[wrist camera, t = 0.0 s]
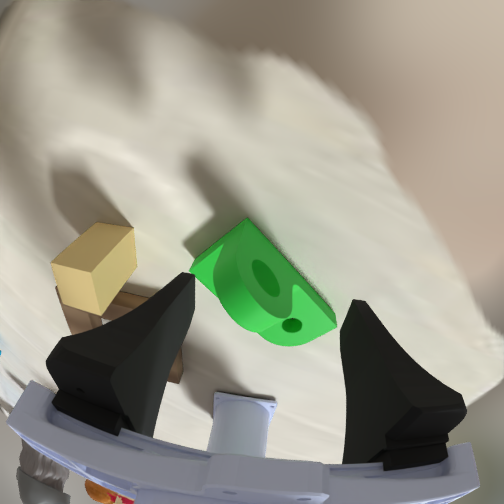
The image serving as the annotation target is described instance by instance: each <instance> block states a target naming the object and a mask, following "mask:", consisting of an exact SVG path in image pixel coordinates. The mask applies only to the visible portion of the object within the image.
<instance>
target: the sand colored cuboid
mask: <svg viewBox="0 0 504 504" xmlns="http://www.w3.org/2000/svg"><path fill="white" fill-rule="evenodd" d="M51 266H52V270H53V273H54V277H55V280H56V284H57V287H58V290H59V293H60V297H61V300H62V303H63V304H65V305H68V306H71V307H74V308H77V309H81V310H84V311H87V312H90V313H94V314H97V315H100V316H102V314H103V313H104V311H105V310H106V309H107V307H108V306H109V304H110V303H111V302H112V300H113V299H114V297H115V296H116V295H117V293H118V292H119V291H120V289H121V288H122V286H123V285H124V284H125V282H126V281H127V280H128V278H129V277H130V276H131V274H132V273H133V272H134V270H135V269H136V268H137V259H136V249H135V238H134V228H132V227H125V226H119V225H112V224H105V223H99V222H96V223H95V224H94V225H93V226H91V227H90V228H89V229H88V230H87V231H85V232H84V233H83V234H82V235H81V236H80V237H78V238H77V239H76V240H75V241H74V242H73V243H72V244H70V245H69V246H68V247H67V248H66V249H65V250H64V251H63V252H61V253H60V254H59V255H58V256H57V257H56V258H55V259H54V260H53V261H52V262H51Z"/></svg>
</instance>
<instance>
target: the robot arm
mask: <svg viewBox="0 0 504 504" xmlns="http://www.w3.org/2000/svg"><path fill="white" fill-rule="evenodd" d="M194 310H195V274H190V273H184V272H182V273H180V274H179V275H178V276H177V277H175V278H174V279H173V280H172V281H171V282H170V283H168V284H167V285H166V286H165V287H163V288H162V289H161V290H160V291H158V292H157V293H156V294H155V295H153V296H152V297H151V298H149V299H148V300H146V301H145V302H144V303H142V304H141V305H139V306H138V307H136V308H135V309H133V310H132V311H130V312H128V313H126V314H125V315H123V316H121V317H119V318H117V319H115V320H113V321H110V322H108V323H106V324H104V325H102V326H99V327H96V328H94V329H91V330H88V331H85V332H82V333H78V334H74V335H70V336H66V337H62V338H61V339H60V341H59V342H58V343H57V345H56V346H55V348H54V349H53V350H52V352H51V353H50V355H49V356H48V358H47V360H46V366H47V369H48V371H49V373H50V375H51V376H52V378H53V380H54V381H55V383H56V385H57V386H58V388H59V390H58V392H57V394H55V393H54V392H53V391H51V390H50V389H48V388H46V387H44V386H42V385H40V384H38V383H37V382H35V381H33V380H31V381H30V382H29V384H28V385H27V387H26V389H25V390H24V392H23V393H22V395H21V397H20V398H19V400H18V402H17V403H16V405H15V407H14V408H13V410H12V412H11V414H10V415H9V417H8V419H7V421H6V423H7V424H8V425H9V426H10V427H11V428H12V429H13V430H14V431H15V432H16V433H17V434H18V435H19V436H20V437H21V438H22V439H23V440H24V441H25V442H27V443H28V444H29V445H30V446H31V447H32V448H34V449H35V450H37V451H38V452H40V453H42V454H43V455H45V456H47V457H48V458H50V459H52V460H53V461H55V462H57V463H59V464H60V465H62V466H64V467H66V468H68V469H69V470H71V471H73V472H75V473H77V474H79V475H81V476H83V477H85V478H87V479H89V480H91V481H93V482H95V483H97V484H99V485H101V486H103V487H105V488H108V489H110V490H112V491H114V492H117V493H119V494H122V495H124V496H127V497H129V498H132V499H134V500H135V501H134V504H448V503H450V502H452V501H454V500H456V499H458V498H460V497H462V496H464V495H466V494H468V493H470V492H471V491H473V490H475V489H477V488H479V486H480V483H479V477H478V472H477V467H476V463H475V458H474V454H473V450H472V446H471V443H470V442H467V443H462V444H457V445H453V446H450V447H448V448H446V442H448V441H449V438H448V433H449V432H450V431H451V430H452V429H454V427H456V426H457V425H458V424H459V423H460V422H461V421H462V420H463V419H464V417H465V416H466V414H467V409H466V406H465V403H464V400H463V397H462V394H460V393H458V392H456V391H455V390H453V389H451V388H450V387H448V386H446V385H445V384H443V383H442V382H440V381H439V380H437V379H436V378H435V377H433V376H432V375H431V374H429V373H428V372H427V371H426V370H425V369H423V368H422V367H421V366H420V365H419V364H418V363H417V362H415V361H414V360H413V359H412V358H411V357H410V356H409V355H408V354H407V353H406V352H405V351H404V349H403V348H402V347H401V346H400V345H399V344H398V343H397V341H396V340H395V339H394V338H393V337H392V335H391V334H390V333H389V332H388V330H387V329H386V328H385V327H384V325H383V324H382V323H381V321H380V320H379V319H378V317H377V316H376V314H375V313H374V312H373V310H372V309H371V308H370V306H369V305H368V304H367V303H366V301H362V300H355V299H353V300H352V303H351V305H350V308H349V310H348V313H347V315H346V318H345V320H344V322H343V325H342V327H341V330H340V352H341V359H342V366H343V373H344V380H345V388H346V433H345V445H344V453H343V461H342V464H323V463H321V462H313V461H302V460H286V459H275V458H265V455H266V446H267V437H268V427H269V425H270V422H271V420H272V417H273V414H274V412H275V409H276V407H277V402H276V401H271V400H264V399H257V398H250V397H244V396H237V395H232V394H226V393H221V392H215V393H214V408H213V425H212V430H211V434H210V438H209V443H208V447H207V451H202V450H198V449H193V448H189V447H185V446H181V445H177V444H173V443H169V442H165V441H162V440H158V439H155V438H153V434H154V429H155V425H156V420H157V416H158V412H159V408H160V404H161V401H162V397H163V393H164V390H165V386H166V383H167V380H168V377H169V373H170V370H171V368H172V365H173V363H174V360H175V358H176V356H177V354H178V352H179V349H180V347H181V345H182V343H183V340H184V338H185V336H186V334H187V331H188V329H189V327H190V324H191V320H192V317H193V314H194Z"/></svg>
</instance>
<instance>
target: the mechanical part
mask: <svg viewBox="0 0 504 504" xmlns="http://www.w3.org/2000/svg"><path fill="white" fill-rule="evenodd" d="M189 271H190V272H191V273H192V274H195V277H196V278H197V279H198V280H199V281H200V282H201V283H202V284H203V285H204V286H206V287H207V288H208V289H209V290H210V291H211V292H212V293H213V294H214V295H215V296H216V297H218V298H219V300H220V302H221V304H222V306H223V307H224V309H225V310H226V312H227V313H228V314H229V315H230V317H231V318H232V319H233V320H234V321H235V322H236V323H237V324H239V325H240V326H241V327H243V328H244V329H246V330H249V331H252V332H257V333H258V334H259V335H260V336H262V337H263V338H264V339H266V340H267V341H269V342H271V343H273V344H276V345H281V346H298V345H302V344H305V343H308V342H310V341H312V340H314V339H316V338H317V337H319V336H321V335H323V334H325V333H327V332H329V331H331V330H333V329H335V328H336V327H337V322H336V316H335V313H334V312H333V311H332V309H331V308H330V307H329V306H328V305H327V304H326V303H325V302H324V301H323V299H322V298H321V297H320V296H319V295H318V294H317V293H316V292H315V291H314V289H313V288H312V287H311V286H310V285H309V284H308V283H307V282H306V281H305V280H304V278H303V277H302V276H301V275H300V274H299V273H298V272H297V271H296V270H295V269H294V267H293V266H292V265H291V264H290V263H289V262H288V261H287V260H286V259H285V258H284V257H283V255H282V254H281V253H280V252H279V251H278V250H277V249H276V248H275V247H274V246H273V245H272V243H271V242H270V241H269V240H268V239H267V238H266V237H265V236H264V235H263V234H262V233H261V232H260V231H259V229H258V228H257V227H256V226H255V225H254V224H253V223H252V222H251V221H250V220H249V219H248V218H246V219H245V220H243V221H242V222H241V223H240V224H238V225H237V226H236V227H235V228H233V229H232V230H231V231H230V232H228V233H227V234H226V235H224V236H223V237H222V238H221V239H219V240H218V241H217V242H216V243H214V244H213V245H212V246H211V247H209V248H208V249H207V250H206V251H204V252H203V253H202V254H201V255H200V256H198V257H197V258H196V259H195V260H194V262H193V264H192V266H191V268H190V270H189ZM289 318H296V319H289Z"/></svg>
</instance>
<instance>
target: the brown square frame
mask: <svg viewBox="0 0 504 504" xmlns="http://www.w3.org/2000/svg"><path fill="white" fill-rule="evenodd" d="M55 289H56V292H57V295H58V298H59V301H60V304H61V307H62V310H63V313H64V315H65V318H66V321H67V323H68V326H69V329H70V331H71V334H72V335H74V334H78V333H82V332H85V331H88V330H91V329H94V328H96V327H99V326H102V325H103V324H102V321H101V318H104V319H107V320H111V321H113V320H115V319H117V318H119V317H121V316H123V315H125V314H126V313H128V312H130V311H132V310H133V309H135V308H136V307H138V306H139V305H141V304H142V303H144V302H145V301H146V300H148V299H149V298H147V297H142V296H138V295H133V294H129V293H125V292H121V291H119V292H118V293H117V295H116V296H115V297H114V299H113V300H112V302H111V303H110V304H109V306H108V307H107V309H106V310H105V311H104V313H103V314H102V316H100V315H97V314H94V313H90V312H87V311H84V310H81V309H77V308H74V307H71V306H68V305H65V304H63V303H62V300H61V297H60V293H59V290H58V287H57V286H56V287H55ZM182 374H183V363H182V352H181V347H180V349H179V352H178V354H177V356H176V358H175V360H174V363H173V365H172V368H171V370H170V373H169V377H168V380H167V381H168V382H172V383H176V384H179V382H180V379H181V376H182Z"/></svg>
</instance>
